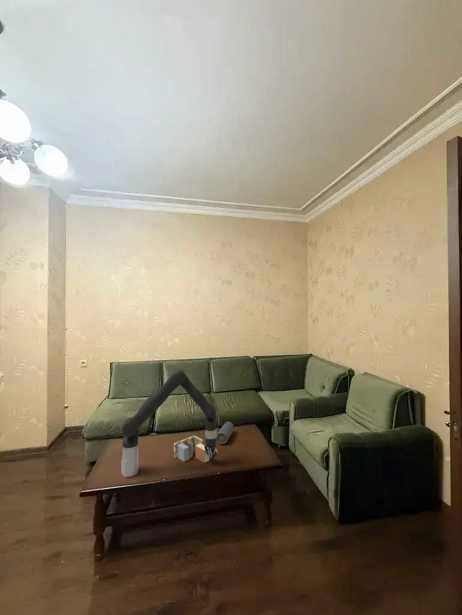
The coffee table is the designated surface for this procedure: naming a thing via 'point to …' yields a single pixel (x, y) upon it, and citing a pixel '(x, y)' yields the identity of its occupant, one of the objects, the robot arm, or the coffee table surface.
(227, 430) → the bluetooth speaker
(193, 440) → the shelf
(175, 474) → the coffee table surface
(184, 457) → the shelved book
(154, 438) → the coffee table surface
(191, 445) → the bookend
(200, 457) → the boxed book
